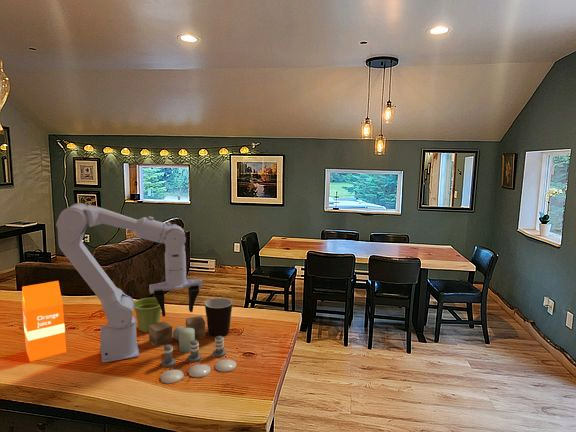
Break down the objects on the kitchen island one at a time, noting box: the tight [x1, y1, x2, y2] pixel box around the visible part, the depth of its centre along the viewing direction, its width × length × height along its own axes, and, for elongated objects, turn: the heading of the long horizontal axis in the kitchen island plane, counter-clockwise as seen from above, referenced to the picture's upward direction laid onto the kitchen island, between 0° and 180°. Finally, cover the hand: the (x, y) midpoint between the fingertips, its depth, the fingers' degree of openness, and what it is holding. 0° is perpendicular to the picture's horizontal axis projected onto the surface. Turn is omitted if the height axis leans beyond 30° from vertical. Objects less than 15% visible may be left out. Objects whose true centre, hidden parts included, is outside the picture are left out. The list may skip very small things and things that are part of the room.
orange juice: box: [21, 280, 67, 363], centre depth 110 cm, size 8×9×20 cm
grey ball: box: [172, 326, 185, 341], centre depth 120 cm, size 4×4×4 cm
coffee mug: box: [204, 297, 233, 338], centre depth 126 cm, size 12×9×10 cm
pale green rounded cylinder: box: [178, 327, 196, 353], centre depth 114 cm, size 4×4×6 cm
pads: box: [159, 358, 237, 384], centre depth 103 cm, size 20×6×1 cm, turn 114°
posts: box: [161, 336, 227, 368], centre depth 109 cm, size 18×4×5 cm, turn 114°
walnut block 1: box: [148, 320, 173, 348], centre depth 118 cm, size 5×5×5 cm
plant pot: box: [134, 297, 162, 333], centre depth 126 cm, size 9×9×9 cm
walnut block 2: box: [185, 315, 206, 340], centre depth 123 cm, size 5×5×5 cm
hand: (177, 313), depth 114 cm, fingers open, 7 cm apart
